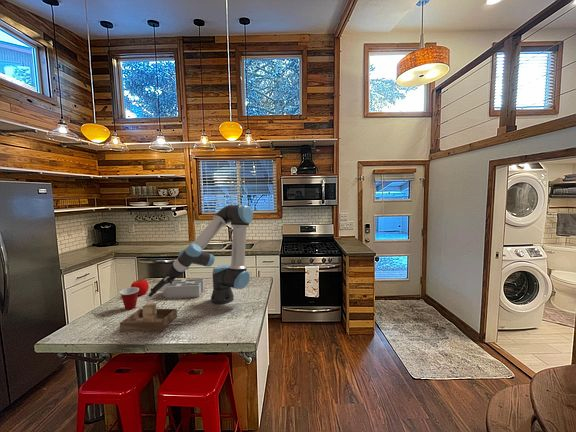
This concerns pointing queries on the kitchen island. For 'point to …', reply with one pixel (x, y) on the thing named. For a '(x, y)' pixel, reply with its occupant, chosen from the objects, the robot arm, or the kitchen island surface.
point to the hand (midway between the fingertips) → (153, 295)
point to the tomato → (141, 286)
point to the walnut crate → (137, 325)
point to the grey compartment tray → (184, 288)
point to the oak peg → (149, 312)
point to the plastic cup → (129, 297)
